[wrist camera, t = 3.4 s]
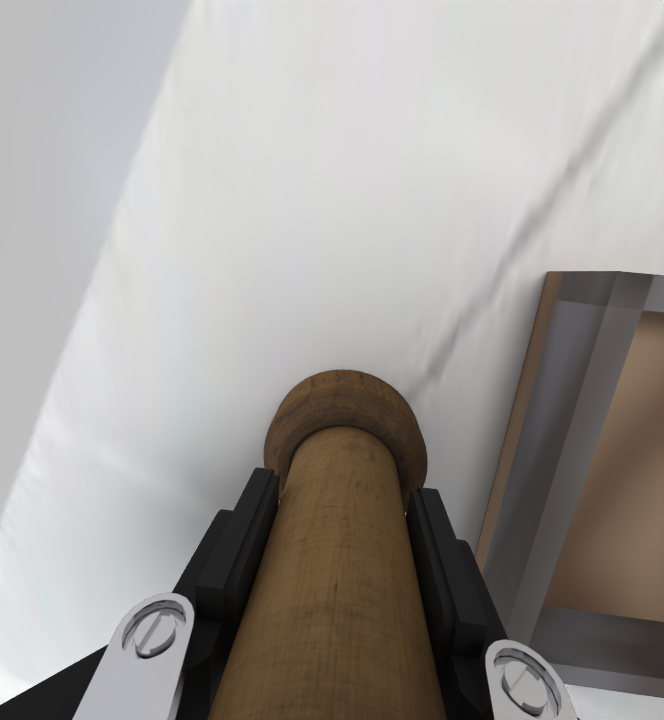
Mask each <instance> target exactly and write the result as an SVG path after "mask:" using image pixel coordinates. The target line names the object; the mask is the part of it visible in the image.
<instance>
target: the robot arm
mask: <svg viewBox="0 0 664 720" xmlns="http://www.w3.org/2000/svg"><path fill="white" fill-rule="evenodd" d="M279 485H280V475H274V470H273V469H265V468H257V467H256V468H255V470H254V471H253V473H252V475H251V477H250V479H249V481H248V483H247V485H246V487H245V489H244V491H243V493H242V495H241V497H240V499H239V501H238V503H237V505H236V507H235V509H234V511H230V510H223V509H221V510H220V511H219V512H218V513H217V515H216V516H215V518H214V520H213V521H212V523H211V525H210V527H209V528H208V530H207V532H206V534H205V535H204V537H203V539H202V541H201V542H200V544H199V546H198V548H197V549H196V551H195V553H194V555H193V556H192V558H191V560H190V562H189V563H188V565H187V567H186V569H185V570H184V572H183V574H182V576H181V577H180V579H179V581H178V583H177V584H176V586H175V588H174V590H173V591H172V593H164V594H158V595H155V596H153V597H150V598H148V599H145V600H144V601H142V602H141V603H139V604H138V605H136V606H135V607H133V608H132V610H131V611H130V612H129V613H128V614H127V615H126V616H125V617H124V618H123V619H122V621H121V622H120V624H119V625H118V627H117V629H116V630H115V632H114V635H113V637H112V639H111V641H110V643H109V644H108V645H106V646H105V647H103V648H101V649H99V650H97V651H96V652H94V653H92V654H90V655H89V656H87V657H85V658H83V659H81V660H80V661H78V662H76V663H74V664H73V665H71V666H69V667H67V668H65V669H64V670H62V671H60V672H58V673H57V674H55V675H53V676H51V677H49V678H48V679H46V680H44V681H42V682H41V683H39V684H37V685H35V686H33V687H32V688H30V689H28V690H26V691H25V692H23V693H21V694H19V695H17V696H16V697H14V698H12V699H10V700H9V701H7V702H5V703H3V704H2V705H0V720H207V719H208V716H209V713H210V710H211V708H212V705H213V702H214V699H215V696H216V693H217V690H218V687H219V684H220V681H221V678H222V675H223V672H224V670H225V667H226V664H227V661H228V658H229V655H230V652H231V649H232V646H233V643H234V640H235V637H236V634H237V631H238V628H239V625H240V622H241V619H242V616H243V613H244V611H245V607H246V605H247V602H248V598H249V595H250V593H251V590H252V587H253V584H254V581H255V578H256V574H257V572H258V569H259V566H260V563H261V560H262V556H263V553H264V550H265V547H266V544H267V541H268V538H269V535H270V532H271V529H272V526H273V522H274V519H275V516H276V513H277V510H278V502H279ZM406 522H407V528H408V533H409V538H410V543H411V548H412V553H413V559H414V564H415V569H416V574H417V579H418V584H419V589H420V594H421V599H422V604H423V609H424V614H425V619H426V624H427V628H428V633H429V638H430V643H431V648H432V653H433V657H434V662H435V667H436V672H437V676H438V681H439V686H440V690H441V695H442V699H443V704H444V709H445V713H446V718H447V720H580V719H579V718H577V716H576V714H575V711H574V708H573V705H572V702H571V700H570V697H569V694H568V692H567V690H566V688H565V686H564V684H563V682H562V680H561V679H560V677H559V676H558V675H557V673H556V672H555V670H554V669H553V668H552V666H551V665H549V664H548V663H547V662H546V661H545V660H544V659H543V658H542V657H541V656H540V655H539V654H538V653H536V652H535V651H533V650H532V649H530V648H529V647H527V646H525V645H523V644H521V643H518V642H516V641H511V640H509V639H508V637H507V634H506V632H505V630H504V627H503V625H502V622H501V620H500V618H499V615H498V613H497V610H496V608H495V606H494V603H493V601H492V598H491V596H490V594H489V591H488V589H487V586H486V584H485V582H484V579H483V577H482V574H481V572H480V570H479V567H478V565H477V562H476V560H475V558H474V555H473V553H472V550H471V548H470V546H469V544H468V543H467V542H466V541H465V540H457V539H456V537H455V534H454V531H453V529H452V526H451V523H450V521H449V518H448V515H447V513H446V510H445V508H444V505H443V502H442V500H441V497H440V494H439V492H438V490H437V489H430V488H421V487H418V488H417V491H416V492H413V491H412V492H411V493H410V497H409V503H408V508H407V514H406Z"/></svg>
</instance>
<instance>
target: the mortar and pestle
mask: <svg viewBox="0 0 664 720" xmlns="http://www.w3.org/2000/svg"><path fill="white" fill-rule="evenodd" d="M264 465H265V469H273V470H274V475H280V485H279V500H280V503H279V507H278V510H277V513H276V516H275V519H274V522H273V526H272V529H271V532H270V535H269V538H268V541H267V544H266V547H265V550H264V553H263V556H262V560H261V563H260V566H259V569H258V572H257V574H256V578H255V581H254V584H253V587H252V590H251V593H250V595H249V598H248V602H247V605H246V607H245V611H244V613H243V616H242V619H241V622H240V625H239V628H238V631H237V634H236V637H235V640H234V643H233V646H232V649H231V652H230V655H229V658H228V661H227V664H226V667H225V670H224V672H223V675H222V678H221V681H220V684H219V687H218V690H217V693H216V696H215V699H214V702H213V705H212V708H211V710H210V713H209V716H208V719H207V720H447V718H446V713H445V709H444V704H443V699H442V695H441V690H440V686H439V681H438V676H437V672H436V667H435V662H434V657H433V653H432V648H431V643H430V638H429V633H428V628H427V624H426V619H425V614H424V609H423V604H422V599H421V594H420V589H419V584H418V579H417V574H416V569H415V564H414V559H413V553H412V548H411V543H410V538H409V533H408V528H407V522H406V517H405V512H406V511H407V508H408V503H409V497H410V493H411V492H412V491H413V492H416V491H417V488H418V487H421V488H423V485H424V483H425V479H426V475H427V452H426V447H425V443H424V440H423V437H422V434H421V431H420V429H419V426H418V423H417V420H416V418H415V415H414V413H413V411H412V409H411V408H410V406H409V405H408V403H407V402H406V400H405V399H404V398H403V397H402V396H401V395H400V394H399V393H398V392H397V391H396V390H395V389H394V388H393V387H392V386H390V385H389V384H387V383H386V382H384V381H382V380H381V379H379V378H377V377H375V376H372V375H369V374H366V373H363V372H359V371H353V370H332V371H326V372H322V373H319V374H316V375H313V376H311V377H309V378H307V379H305V380H304V381H302V382H301V383H299V384H298V385H297V386H295V387H294V388H293V389H292V390H291V391H290V392H289V394H288V395H287V396H286V397H285V399H284V400H283V402H282V403H281V405H280V407H279V409H278V411H277V413H276V415H275V417H274V419H273V421H272V423H271V425H270V427H269V430H268V433H267V436H266V440H265V445H264Z"/></svg>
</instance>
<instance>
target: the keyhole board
mask: <svg viewBox="0 0 664 720" xmlns="http://www.w3.org/2000/svg"><path fill="white" fill-rule="evenodd" d="M475 560H476V562H477V565H478V567H479V570H480V572H481V574H482V577H483V579H484V582H485V584H486V586H487V589H488V591H489V594H490V596H491V598H492V601H493V603H494V606H495V608H496V610H497V613H498V615H499V618H500V620H501V622H502V625H503V627H504V630H505V632H506V634H507V637H508V639H509V640H511V641H516V642H518V643H521V644H523V645H525V646H527V647H529V648H530V649H532V650H533V651H535V652H536V653H538V654H539V655H540V656H541V657H542V658H543V659H544V660H545V661H546V662H547V663H548V664H549V665H551V666H552V668H553V669H554V670H555V672H556V673H557V675H558V676H559V677H560V679H561V680H562V682H563V684H570V685H577V686H584V687H591V688H598V689H605V690H611V691H618V692H625V693H632V694H639V695H646V696H653V697H660V698H664V275H653V274H642V273H631V272H621V271H549V272H548V273H547V277H546V281H545V285H544V289H543V293H542V296H541V300H540V304H539V308H538V312H537V316H536V320H535V324H534V328H533V332H532V335H531V339H530V343H529V347H528V351H527V355H526V359H525V363H524V367H523V371H522V374H521V378H520V382H519V386H518V390H517V394H516V398H515V402H514V406H513V409H512V413H511V417H510V421H509V425H508V429H507V433H506V437H505V441H504V445H503V448H502V452H501V456H500V460H499V464H498V468H497V472H496V476H495V480H494V484H493V487H492V491H491V495H490V499H489V503H488V507H487V511H486V515H485V519H484V523H483V526H482V530H481V534H480V538H479V542H478V546H477V550H476V554H475Z"/></svg>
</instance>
